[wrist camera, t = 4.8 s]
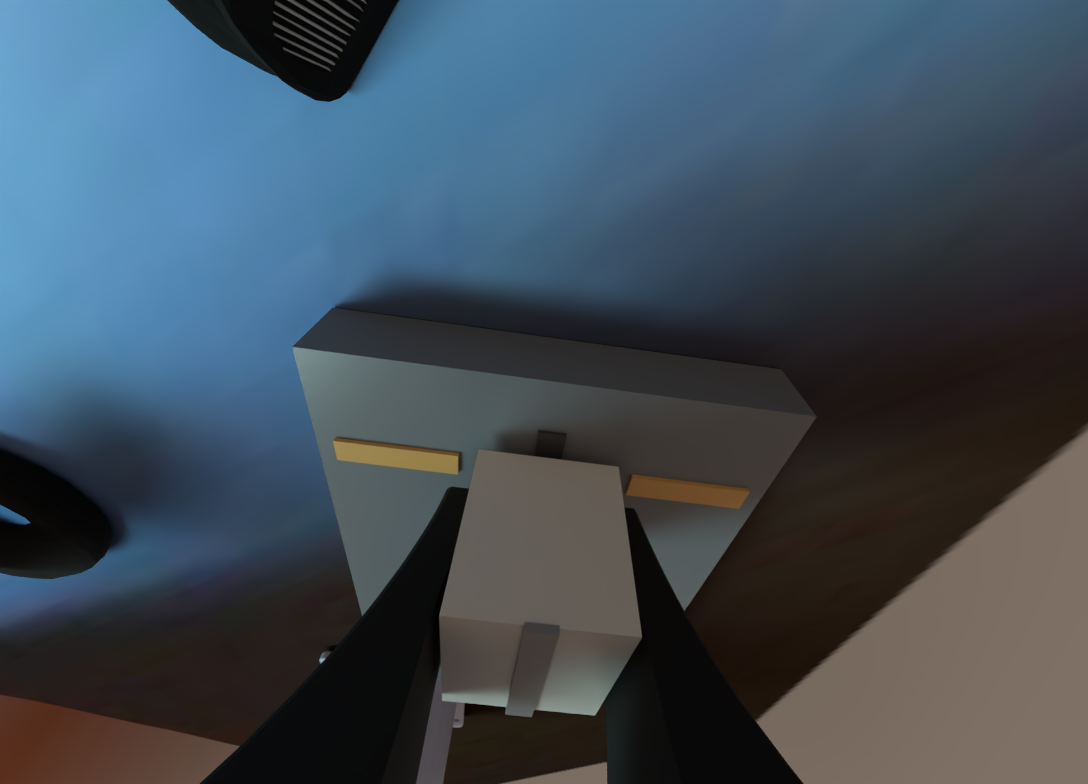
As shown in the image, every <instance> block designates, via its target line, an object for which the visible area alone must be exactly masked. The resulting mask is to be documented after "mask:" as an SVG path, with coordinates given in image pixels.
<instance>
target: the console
mask: <svg viewBox="0 0 1088 784" xmlns="http://www.w3.org/2000/svg"><path fill="white" fill-rule="evenodd" d="M292 348H293V352H294V355H295V359H296V363H297V367H298V371H299V375H300V379H301V382H302V386H303V390H304V394H305V398H306V402H307V405H308V409H309V413H310V417H311V421H312V425H313V428H314V432H315V436H316V440H317V444H318V448H319V451H320V455H321V459H322V463H323V467H324V471H325V474H326V478H327V482H328V486H329V490H330V494H331V498H332V501H333V505H334V509H335V513H336V517H337V521H338V524H339V528H340V532H341V536H342V540H343V544H344V547H345V551H346V555H347V559H348V563H349V567H350V570H351V574H352V578H353V582H354V586H355V590H356V594H357V597H358V601H359V605H360V609H361V613H362V616H363V615H364V613H365V612H366V611H367V610H368V608H369V607H370V606H371V605H372V603H373V602H374V601H375V600H376V598H377V597H378V596H379V594H380V593H381V592H382V590H383V589H384V588H385V586H386V585H387V584H388V582H389V581H390V580H391V578H392V577H393V576H394V574H395V573H396V572H397V570H398V569H399V567H400V566H401V565H402V563H403V562H404V560H405V559H406V557H407V556H408V554H409V553H410V551H411V550H412V548H413V547H414V545H415V544H416V542H417V541H418V539H419V538H420V536H421V535H422V533H423V532H424V530H425V528H426V527H427V525H428V523H429V522H430V520H431V518H432V517H433V515H434V513H435V512H436V510H437V508H438V506H439V504H440V502H441V500H442V498H443V496H444V494H445V492H446V490H447V489H448V488H449V487H451V486H453V487H461V488H469V487H470V483H471V479H472V475H473V471H474V466H475V462H476V458H477V454H478V449H480V450H488V451H496V452H504V453H512V454H520V455H528V456H536V457H544V458H552V459H560V460H569V461H577V462H585V463H593V464H601V465H609V466H617V467H619V473H620V480H621V487H622V495H623V502H624V507H627V508H634V509H635V511H636V512H637V514H638V517H639V519H640V521H641V524H642V526H643V528H644V531H645V533H646V535H647V538H648V540H649V542H650V544H651V546H652V548H653V551H654V553H655V555H656V557H657V559H658V561H659V563H660V565H661V567H662V569H663V571H664V573H665V575H666V577H667V579H668V581H669V583H670V585H671V587H672V589H673V591H674V593H675V595H676V596H677V598H678V600H679V602H680V604H681V606H682V607H683V609H684V611H685V609H686V608H687V606H688V605H689V604H690V602H691V601H692V599H693V598H694V596H695V595H696V593H697V592H698V590H699V589H700V587H701V586H702V584H703V583H704V582H705V580H706V579H707V577H708V576H709V574H710V573H711V571H712V570H713V568H714V567H715V565H716V564H717V562H718V561H719V560H720V558H721V557H722V555H723V554H724V552H725V551H726V549H727V548H728V546H729V545H730V543H731V542H732V540H733V539H734V537H735V536H736V535H737V533H738V532H739V530H740V529H741V527H742V526H743V524H744V523H745V521H746V520H747V518H748V517H749V515H750V514H751V513H752V511H753V510H754V508H755V507H756V505H757V504H758V502H759V501H760V499H761V498H762V496H763V495H764V493H765V492H766V491H767V489H768V488H769V486H770V485H771V483H772V482H773V480H774V479H775V477H776V476H777V474H778V473H779V471H780V470H781V468H782V467H783V466H784V464H785V463H786V461H787V460H788V458H789V457H790V455H791V454H792V452H793V451H794V449H795V448H796V446H797V445H798V444H799V442H800V441H801V439H802V438H803V436H804V435H805V433H806V432H807V430H808V429H809V427H810V426H811V424H812V423H813V422H814V420H815V419H816V417H817V416H816V415H815V414H814V412H813V411H812V410H811V408H810V407H809V406H808V404H807V403H806V402H805V400H804V399H803V398H802V396H801V395H800V394H799V392H798V391H797V390H796V388H795V387H794V386H793V384H792V383H791V382H790V380H789V379H788V378H787V376H786V375H785V373H784V372H783V371H782V369H775V368H768V367H761V366H753V365H746V364H739V363H732V362H724V361H717V360H710V359H703V358H695V357H688V356H681V355H674V354H666V353H659V352H652V351H645V350H637V349H630V348H623V347H616V346H608V345H601V344H594V343H586V342H579V341H572V340H565V339H557V338H550V337H543V336H536V335H528V334H521V333H514V332H507V331H499V330H492V329H485V328H478V327H470V326H463V325H456V324H449V323H441V322H434V321H427V320H420V319H412V318H405V317H398V316H390V315H383V314H376V313H369V312H361V311H354V310H347V309H340V308H332V309H331V310H330V311H329V312H328V313H327V314H326V315H325V316H324V317H323V318H321V319H320V320H319V321H318V322H317V323H316V324H315V325H314V326H313V327H312V328H311V329H310V330H309V331H308V332H307V333H306V334H305V335H304V336H303V337H302V338H301V339H300V340H299V341H298V342H297V343H296V344H295V345H294V346H293V347H292ZM437 679H441V665H440V668H439V673H438V677H437Z"/></svg>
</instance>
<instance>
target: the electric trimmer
mask: <svg viewBox="0 0 1088 784" xmlns="http://www.w3.org/2000/svg"><path fill="white" fill-rule="evenodd" d="M168 1H169V2H170V3H171V4H172V5H173V6H174V7H175V8H176V9H177V10H178V11H179V12H180V13H181V14H182V15H183V16H184V17H185V18H186V19H188V20H189V21H190V22H191V23H192V24H193V25H194V26H195V27H196V28H197V29H199V30H200V31H201V32H202V33H204V34H205V35H206V36H208V37H209V38H210V39H211V40H213V41H214V42H215V43H216V44H218V45H219V46H220V47H222V48H223V49H225V50H227V51H229V52H231V53H233V54H234V55H236V56H238V57H240V58H242V59H243V60H245V61H247V62H249V63H251V64H253V65H254V66H256V67H258V68H260V69H262V70H264V71H265V72H268V73H270V74H272V75H275V76H277V77H279V78H280V79H281V80H282V81H283V82H285V83H286V84H288V85H289V86H291V87H292V88H294V89H295V90H297V91H299V92H301V93H303V94H305V95H307V96H309V97H311V98H312V99H314V100H318V101H328V102H330V101H333V100H336V99H339V98H340V97H342V96H343V95H344V94H345V93H346V92H347V91H348V89H349V87H350V86H351V84H352V82H353V81H354V79H355V77H356V76H357V74H358V72H359V70H360V69H361V67H362V65H363V63H364V61H365V59H366V58H367V56H368V54H369V52H370V50H371V49H372V47H373V45H374V43H375V41H376V39H377V38H378V36H379V34H380V32H381V30H382V29H383V27H384V25H385V23H386V21H387V19H388V18H389V16H390V14H391V12H392V10H393V8H394V7H395V5H396V3H397V1H398V0H168Z"/></svg>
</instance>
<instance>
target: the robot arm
mask: <svg viewBox="0 0 1088 784" xmlns="http://www.w3.org/2000/svg"><path fill="white" fill-rule="evenodd" d="M468 492H469V488H461V487H453V486H451V487H449V488H448V489H447V490H446V492H445V494H444V496H443V498H442V500H441V502H440V504H439V506H438V508H437V510H436V512H435V513H434V515H433V517H432V518H431V520H430V522H429V523H428V525H427V527H426V528H425V530H424V532H423V533H422V535H421V536H420V538H419V539H418V541H417V542H416V544H415V545H414V547H413V548H412V550H411V551H410V553H409V554H408V556H407V557H406V559H405V560H404V562H403V563H402V565H401V566H400V567H399V569H398V570H397V572H396V573H395V574H394V576H393V577H392V578H391V580H390V581H389V582H388V584H387V585H386V586H385V588H384V589H383V590H382V592H381V593H380V594H379V596H378V597H377V598H376V600H375V601H374V602H373V603H372V605H371V606H370V607H369V608H368V610H367V611H366V612H365V613H364V615H363V616H362V617H361V618H360V620H359V621H358V622H357V623H356V624H355V626H354V627H353V628H352V629H351V630H350V631H349V633H348V634H347V635H346V636H345V637H344V639H343V640H342V641H341V642H340V643H339V644H338V645H337V646H336V648H335V649H334V650H333V651H326V652H323V653H322V655H321V657H320V660H319V661H320V663H321V664H320V665H319V666H318V668H317V669H316V670H315V671H314V672H313V673H312V674H311V675H310V676H309V677H308V678H307V679H306V681H305V682H304V683H303V684H302V685H301V686H300V687H299V688H298V689H297V690H296V691H295V692H294V693H293V694H292V695H291V696H290V697H289V698H288V699H287V700H286V701H285V702H284V703H283V704H282V705H281V706H280V707H279V708H278V709H277V710H276V711H275V712H274V713H273V714H272V715H271V716H270V717H269V718H268V719H267V720H266V721H265V722H264V723H263V724H262V725H261V726H260V727H259V728H258V729H257V730H256V731H255V732H254V733H253V734H252V735H251V736H250V737H249V738H248V739H247V740H246V741H245V742H244V743H243V744H242V745H241V746H240V747H239V748H238V749H237V750H236V751H235V752H234V753H232V754H231V755H230V756H229V757H228V758H227V759H226V760H225V761H224V762H223V763H222V764H221V765H219V766H218V767H217V768H216V769H215V770H214V771H213V772H212V773H211V774H210V775H209V776H208V777H207V778H205V779H204V780H203V781H202V782H201V783H200V784H443V779H444V773H445V768H446V762H447V756H448V750H449V745H450V739H451V733H452V728H453V727H462V726H463V722H464V708H465V703H460V702H450V701H442V686H441V679H437V677H438V673H439V668H440V665H441V656H440V626H439V614H440V610H441V606H442V602H443V598H444V593H445V589H446V585H447V581H448V576H449V572H450V568H451V564H452V559H453V555H454V551H455V547H456V543H457V538H458V534H459V530H460V526H461V521H462V517H463V513H464V509H465V504H466V500H467V496H468ZM624 509H625V516H626V524H627V531H628V538H629V545H630V553H631V560H632V567H633V574H634V582H635V589H636V596H637V603H638V611H639V618H640V625H641V632H642V639H641V640H640V642H639V644H638V645H637V647H636V648H635V650H634V652H633V653H632V655H631V657H630V658H629V660H628V662H627V663H626V665H625V667H624V668H623V670H622V672H621V673H620V675H619V677H618V678H617V680H616V682H615V683H614V685H613V687H612V688H611V690H610V691H609V693H608V695H607V696H606V725H607V782H608V784H803V783H802V781H801V780H800V779H799V778H798V776H797V775H796V774H795V772H794V771H793V770H792V769H791V768H790V766H789V765H788V764H787V762H786V761H785V760H784V758H783V757H782V756H781V754H780V753H779V752H778V750H777V749H776V748H775V746H774V745H773V744H772V742H771V741H770V740H769V738H768V737H767V736H766V735H765V733H764V732H763V730H762V729H761V728H760V726H759V725H758V724H757V722H756V721H755V720H754V718H753V717H752V716H751V714H750V713H749V712H748V710H747V709H746V707H745V706H744V704H743V703H742V702H741V700H740V699H739V697H738V696H737V694H736V693H735V691H734V690H733V688H732V687H731V686H730V684H729V683H728V681H727V680H726V678H725V677H724V675H723V674H722V672H721V670H720V669H719V667H718V666H717V664H716V663H715V661H714V660H713V658H712V657H711V655H710V653H709V652H708V650H707V649H706V647H705V645H704V644H703V642H702V640H701V639H700V637H699V635H698V634H697V632H696V630H695V628H694V627H693V625H692V623H691V622H690V620H689V618H688V616H687V615H686V613H685V611H684V609H683V607H682V606H681V604H680V602H679V600H678V598H677V596H676V595H675V593H674V591H673V589H672V587H671V585H670V583H669V581H668V579H667V577H666V575H665V573H664V571H663V569H662V567H661V565H660V563H659V561H658V559H657V557H656V555H655V553H654V551H653V548H652V546H651V544H650V542H649V540H648V538H647V535H646V533H645V531H644V528H643V526H642V524H641V521H640V519H639V517H638V514H637V512H636V511H635V509H634V508H627V507H624Z"/></svg>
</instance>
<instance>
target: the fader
mask: <svg viewBox="0 0 1088 784" xmlns="http://www.w3.org/2000/svg"><path fill="white" fill-rule="evenodd" d="M439 626H440V656H441V686H442V701H450V702H460V703H471V704H481V705H492V706H502V707H506V711H505V715H515V716H525V717H532V714H533V712H534V710H543V711H554V712H564V713H574V714H585V715H596V713H597V711H598V710H599V708H600V706H601V705H602V703H603V701H604V700H605V698H606V696H607V695H608V693H609V691H610V690H611V688H612V687H613V685H614V683H615V682H616V680H617V678H618V677H619V675H620V673H621V672H622V670H623V668H624V667H625V665H626V663H627V662H628V660H629V658H630V657H631V655H632V653H633V652H634V650H635V648H636V647H637V645H638V644H639V642H640V640H641V639H642V632H641V625H640V618H639V611H638V603H637V596H636V589H635V582H634V574H633V567H632V560H631V553H630V545H629V538H628V531H627V524H626V516H625V509H624V502H623V495H622V487H621V480H620V473H619V467H617V466H609V465H601V464H593V463H585V462H577V461H569V460H560V459H552V458H544V457H536V456H528V455H520V454H512V453H504V452H496V451H488V450H480V449H478V454H477V458H476V462H475V466H474V471H473V475H472V479H471V483H470V487H469V492H468V496H467V500H466V504H465V509H464V513H463V517H462V521H461V526H460V530H459V534H458V538H457V543H456V547H455V551H454V555H453V559H452V564H451V568H450V572H449V576H448V581H447V585H446V589H445V593H444V598H443V602H442V606H441V610H440V614H439Z"/></svg>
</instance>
